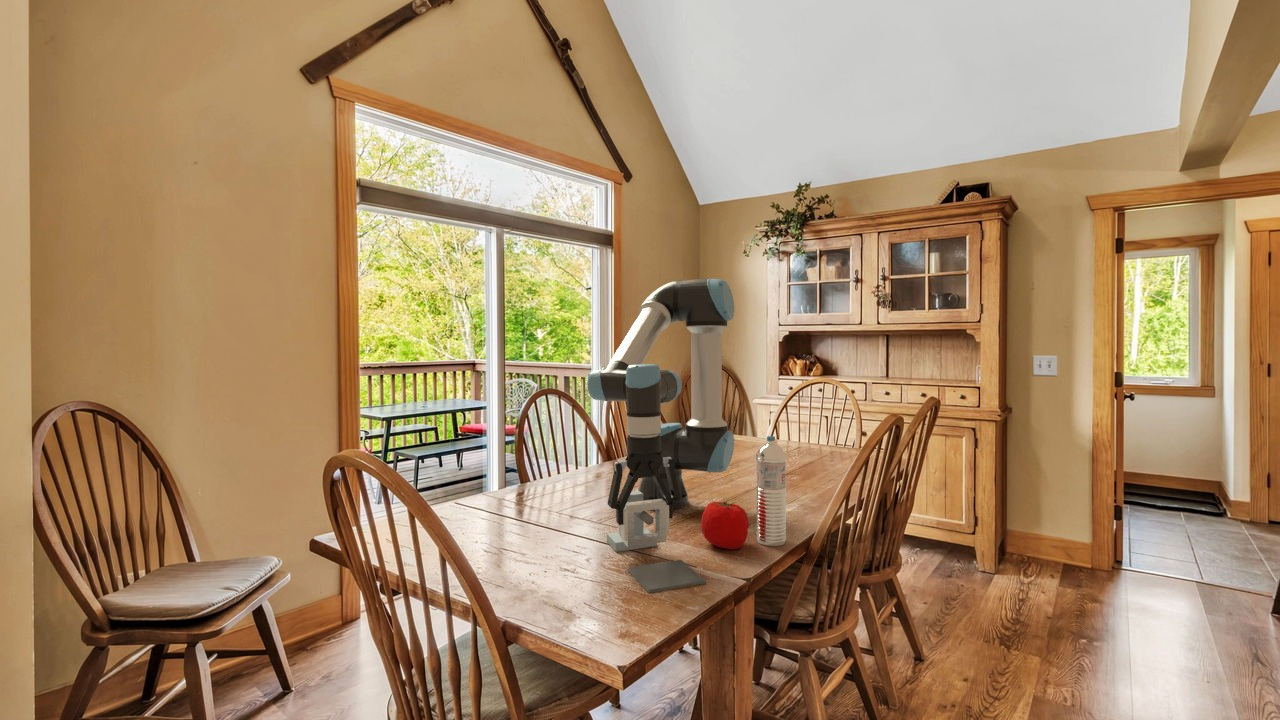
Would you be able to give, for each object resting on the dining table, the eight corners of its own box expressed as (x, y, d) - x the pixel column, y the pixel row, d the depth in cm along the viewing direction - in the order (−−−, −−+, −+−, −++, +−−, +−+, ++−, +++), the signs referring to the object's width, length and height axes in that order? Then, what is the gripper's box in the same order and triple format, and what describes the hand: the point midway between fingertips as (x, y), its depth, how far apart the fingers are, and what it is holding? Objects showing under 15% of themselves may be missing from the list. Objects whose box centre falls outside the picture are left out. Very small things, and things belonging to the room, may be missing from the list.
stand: (606, 541, 143) (606, 491, 142) (646, 536, 146) (645, 487, 146) (627, 564, 128) (627, 508, 128) (671, 558, 131) (670, 504, 131)
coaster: (680, 562, 129) (680, 559, 129) (705, 583, 118) (705, 580, 118) (628, 570, 125) (628, 567, 125) (648, 592, 114) (648, 589, 114)
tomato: (724, 558, 131) (724, 512, 131) (689, 542, 142) (689, 499, 141) (762, 548, 137) (762, 504, 137) (726, 533, 148) (726, 492, 147)
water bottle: (767, 535, 146) (766, 433, 145) (791, 542, 141) (791, 436, 140) (750, 542, 141) (750, 436, 141) (775, 549, 136) (775, 440, 136)
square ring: (661, 538, 135) (661, 498, 135) (666, 541, 133) (665, 501, 133) (624, 543, 132) (623, 502, 132) (627, 547, 130) (627, 505, 130)
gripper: (682, 428, 139) (683, 525, 140) (591, 435, 131) (592, 536, 132) (696, 433, 132) (697, 534, 133) (600, 440, 124) (602, 548, 125)
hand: (645, 535), depth 133 cm, fingers closed on square ring, 9 cm apart
